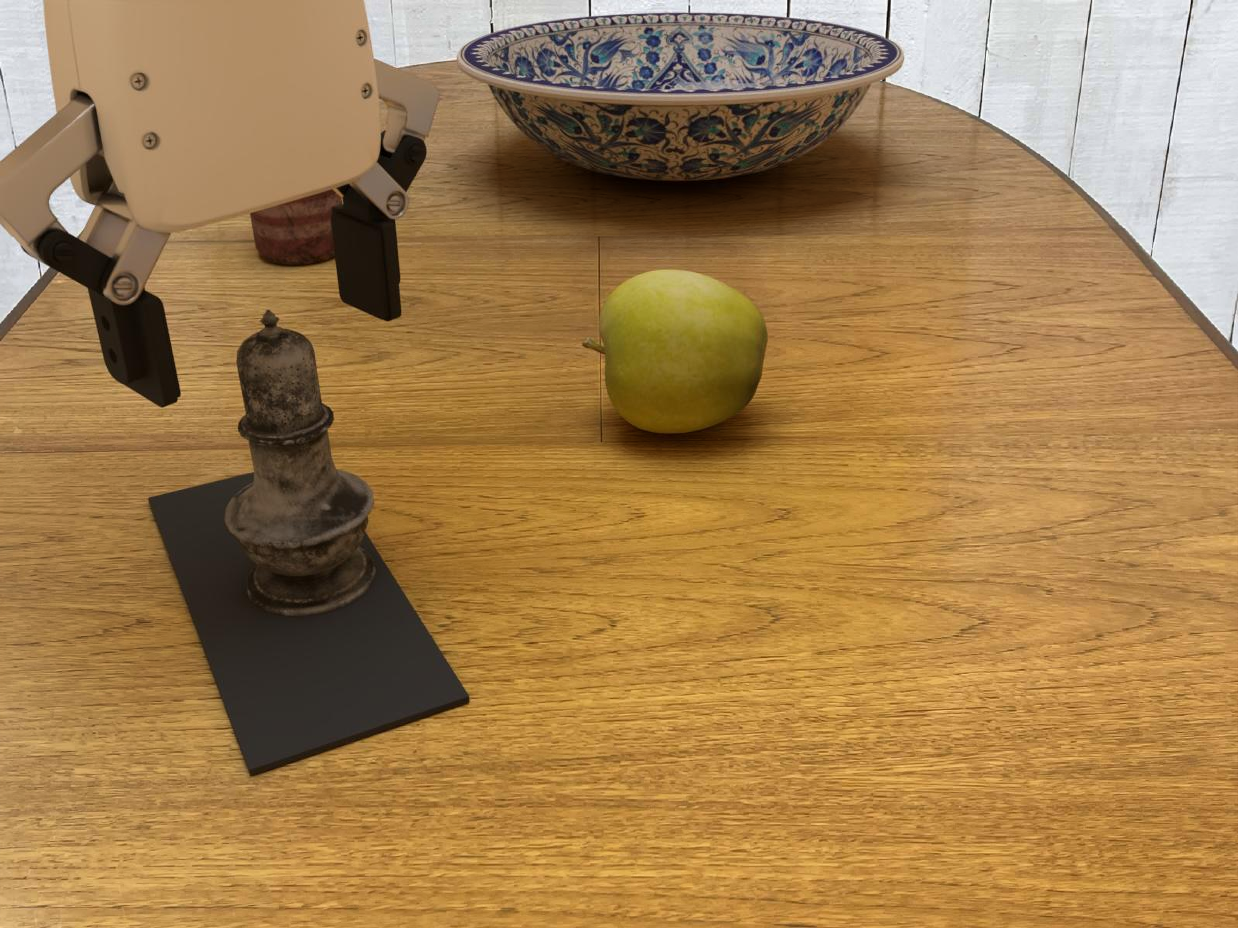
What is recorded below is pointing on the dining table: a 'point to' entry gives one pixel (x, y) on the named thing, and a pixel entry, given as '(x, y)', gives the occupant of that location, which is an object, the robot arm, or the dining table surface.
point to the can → (296, 230)
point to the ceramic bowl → (679, 88)
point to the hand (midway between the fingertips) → (267, 349)
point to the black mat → (298, 643)
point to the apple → (680, 350)
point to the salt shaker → (295, 485)
